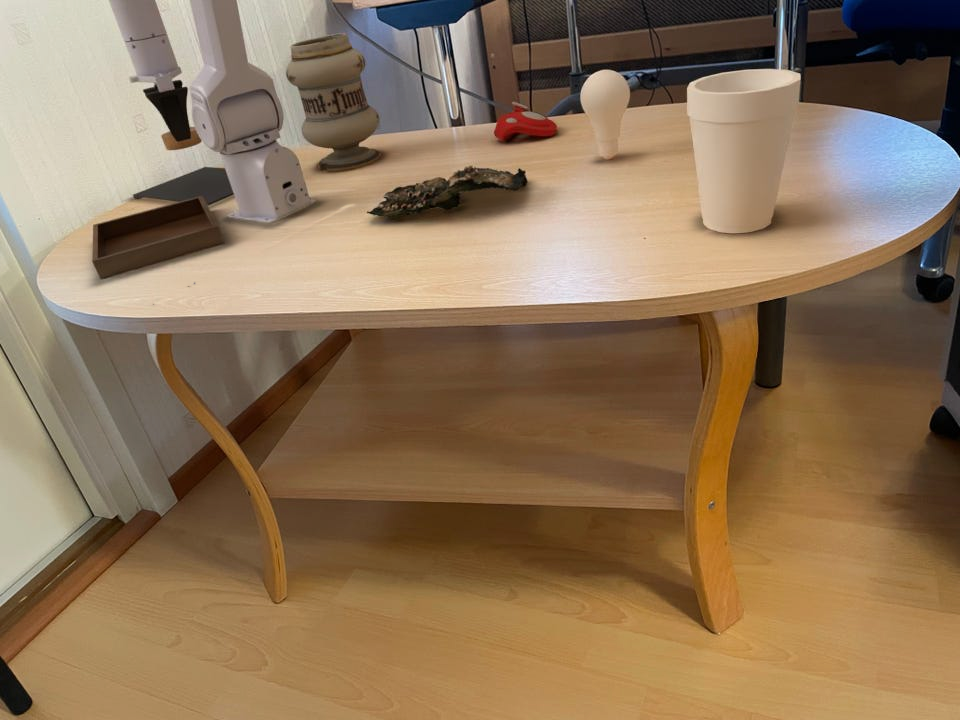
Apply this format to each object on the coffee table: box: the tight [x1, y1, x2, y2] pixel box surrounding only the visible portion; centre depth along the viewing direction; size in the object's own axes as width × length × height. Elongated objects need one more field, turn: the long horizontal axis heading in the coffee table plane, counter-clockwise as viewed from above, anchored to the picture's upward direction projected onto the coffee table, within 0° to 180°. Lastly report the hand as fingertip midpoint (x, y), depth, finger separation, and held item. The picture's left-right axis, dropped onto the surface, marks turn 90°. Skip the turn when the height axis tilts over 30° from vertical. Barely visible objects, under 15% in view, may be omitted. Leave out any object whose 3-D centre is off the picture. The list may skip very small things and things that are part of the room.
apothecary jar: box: [285, 33, 381, 172], centre depth 106 cm, size 12×12×18 cm
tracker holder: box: [493, 101, 558, 142], centre depth 108 cm, size 12×4×10 cm
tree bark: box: [366, 165, 529, 219], centre depth 85 cm, size 19×6×15 cm
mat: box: [132, 166, 234, 206], centre depth 110 cm, size 20×14×1 cm
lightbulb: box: [579, 69, 631, 160], centre depth 89 cm, size 6×6×11 cm
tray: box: [91, 196, 225, 280], centre depth 88 cm, size 16×14×3 cm
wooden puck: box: [161, 126, 203, 151], centre depth 104 cm, size 5×5×2 cm
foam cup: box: [686, 68, 802, 234], centre depth 65 cm, size 10×9×13 cm
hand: (181, 136), depth 104 cm, fingers closed on wooden puck, 5 cm apart
